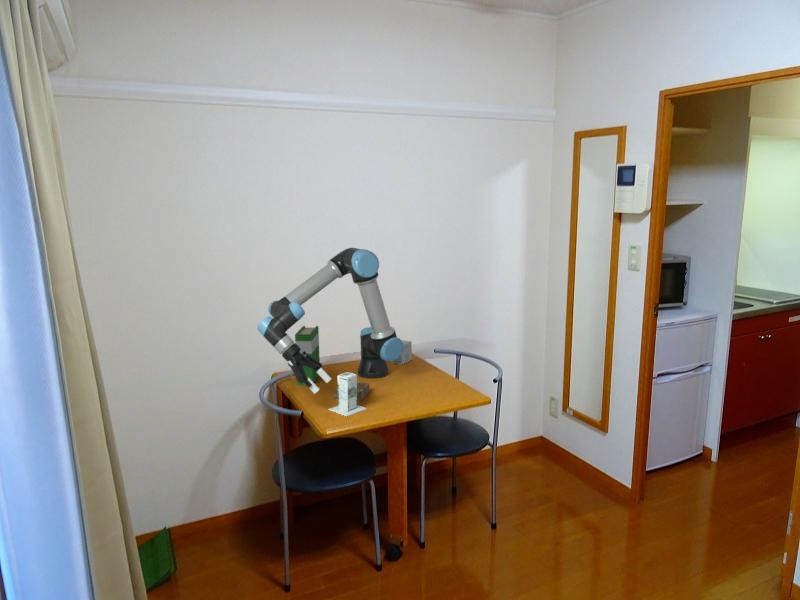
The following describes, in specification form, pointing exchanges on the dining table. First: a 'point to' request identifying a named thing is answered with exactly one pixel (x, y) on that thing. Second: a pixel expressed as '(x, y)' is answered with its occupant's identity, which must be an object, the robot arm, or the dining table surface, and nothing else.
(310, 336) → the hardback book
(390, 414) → the dining table surface
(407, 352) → the skincare box
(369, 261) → the robot arm
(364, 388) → the walnut crate
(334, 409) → the grey mat
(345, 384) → the syrup box
